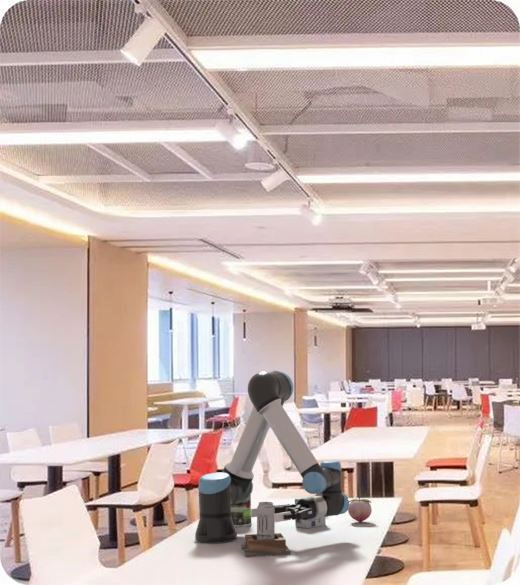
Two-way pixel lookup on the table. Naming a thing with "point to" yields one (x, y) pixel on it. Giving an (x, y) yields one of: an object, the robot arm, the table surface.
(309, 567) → the table surface
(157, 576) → the table surface
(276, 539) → the brown wooden open box
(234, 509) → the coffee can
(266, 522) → the energy drink can
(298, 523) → the light bulb box
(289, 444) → the robot arm
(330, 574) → the table surface
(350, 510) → the decorative fruit
